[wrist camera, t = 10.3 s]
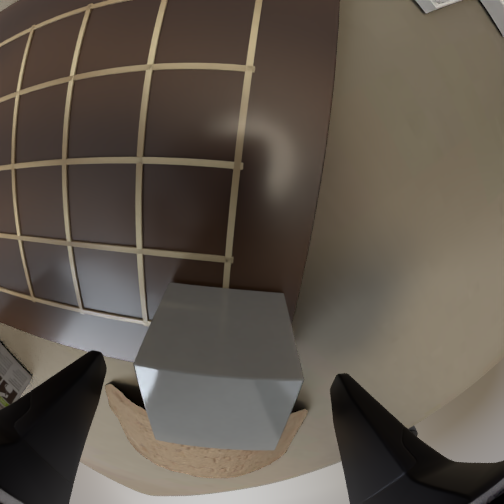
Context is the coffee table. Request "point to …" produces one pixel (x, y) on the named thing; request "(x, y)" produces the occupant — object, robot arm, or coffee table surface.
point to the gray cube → (219, 368)
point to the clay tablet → (194, 457)
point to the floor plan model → (496, 3)
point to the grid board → (156, 156)
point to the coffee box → (11, 378)
